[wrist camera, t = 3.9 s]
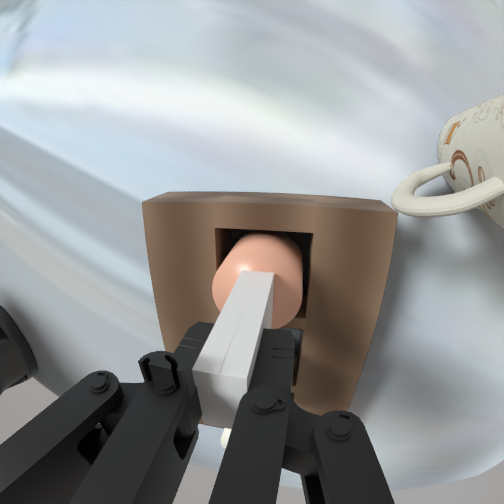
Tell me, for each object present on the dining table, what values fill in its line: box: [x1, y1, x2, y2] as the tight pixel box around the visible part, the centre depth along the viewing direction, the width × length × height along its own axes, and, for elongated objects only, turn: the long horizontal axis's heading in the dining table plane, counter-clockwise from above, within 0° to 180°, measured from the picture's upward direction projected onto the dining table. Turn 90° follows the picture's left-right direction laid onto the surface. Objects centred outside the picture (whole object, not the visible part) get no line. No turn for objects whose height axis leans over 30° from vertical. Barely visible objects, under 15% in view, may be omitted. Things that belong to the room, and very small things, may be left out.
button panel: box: [142, 192, 398, 428], centre depth 19 cm, size 14×20×4 cm
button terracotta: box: [212, 230, 303, 329], centre depth 15 cm, size 4×4×4 cm
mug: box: [391, 94, 504, 229], centre depth 10 cm, size 8×13×10 cm, turn 116°
